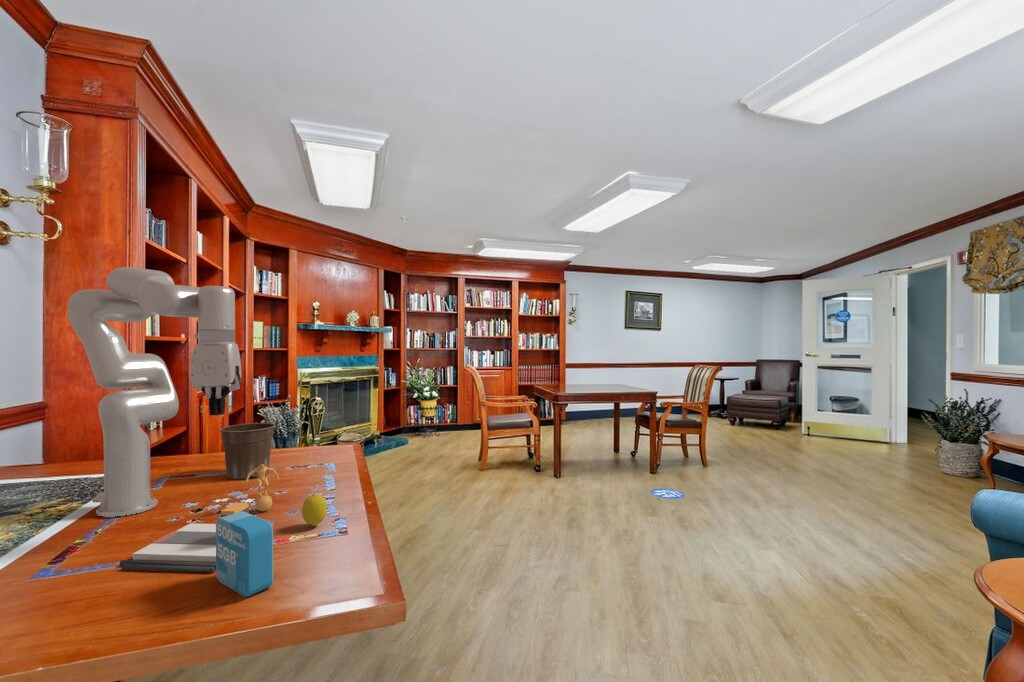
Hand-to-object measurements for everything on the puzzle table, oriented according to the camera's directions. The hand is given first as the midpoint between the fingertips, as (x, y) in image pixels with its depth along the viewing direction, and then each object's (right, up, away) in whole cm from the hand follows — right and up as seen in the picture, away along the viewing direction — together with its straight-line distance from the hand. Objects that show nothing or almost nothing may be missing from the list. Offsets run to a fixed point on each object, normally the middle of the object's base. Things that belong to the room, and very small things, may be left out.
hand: (217, 414), depth 113 cm
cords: (+3, -27, -20) cm, 34 cm away
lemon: (+23, -27, +1) cm, 36 cm away
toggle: (+10, -26, -10) cm, 29 cm away
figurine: (+5, -27, +12) cm, 30 cm away
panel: (+3, -27, -9) cm, 29 cm away
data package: (+21, -27, -26) cm, 44 cm away
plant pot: (-17, -27, +44) cm, 55 cm away
